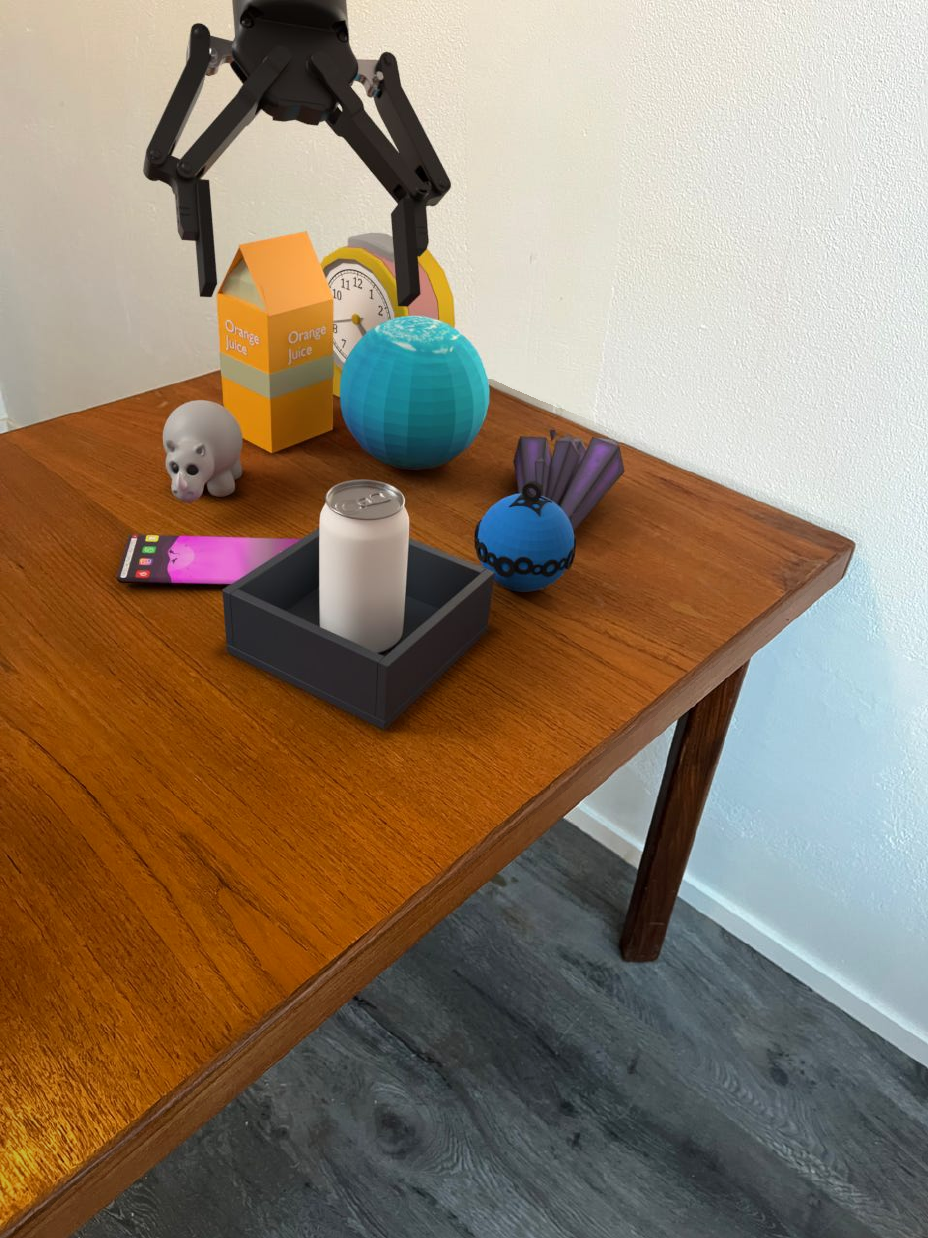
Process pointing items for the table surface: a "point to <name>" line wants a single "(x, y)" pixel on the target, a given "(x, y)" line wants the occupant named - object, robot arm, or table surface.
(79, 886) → the table surface
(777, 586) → the table surface
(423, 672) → the tray
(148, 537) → the smartphone
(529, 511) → the ornament
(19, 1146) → the table surface
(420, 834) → the table surface
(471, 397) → the decorative orb
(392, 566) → the can
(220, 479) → the chubby cartoon animal
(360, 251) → the alarm clock
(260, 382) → the orange juice
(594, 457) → the crystal
